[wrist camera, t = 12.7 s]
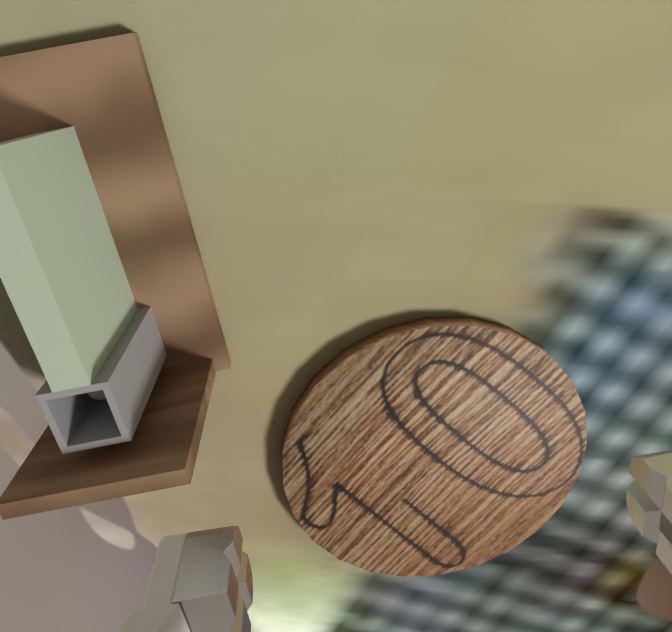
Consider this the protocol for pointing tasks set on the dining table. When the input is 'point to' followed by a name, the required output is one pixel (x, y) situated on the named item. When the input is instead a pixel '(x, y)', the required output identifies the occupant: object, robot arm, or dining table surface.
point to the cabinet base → (137, 260)
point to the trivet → (432, 446)
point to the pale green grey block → (73, 293)
